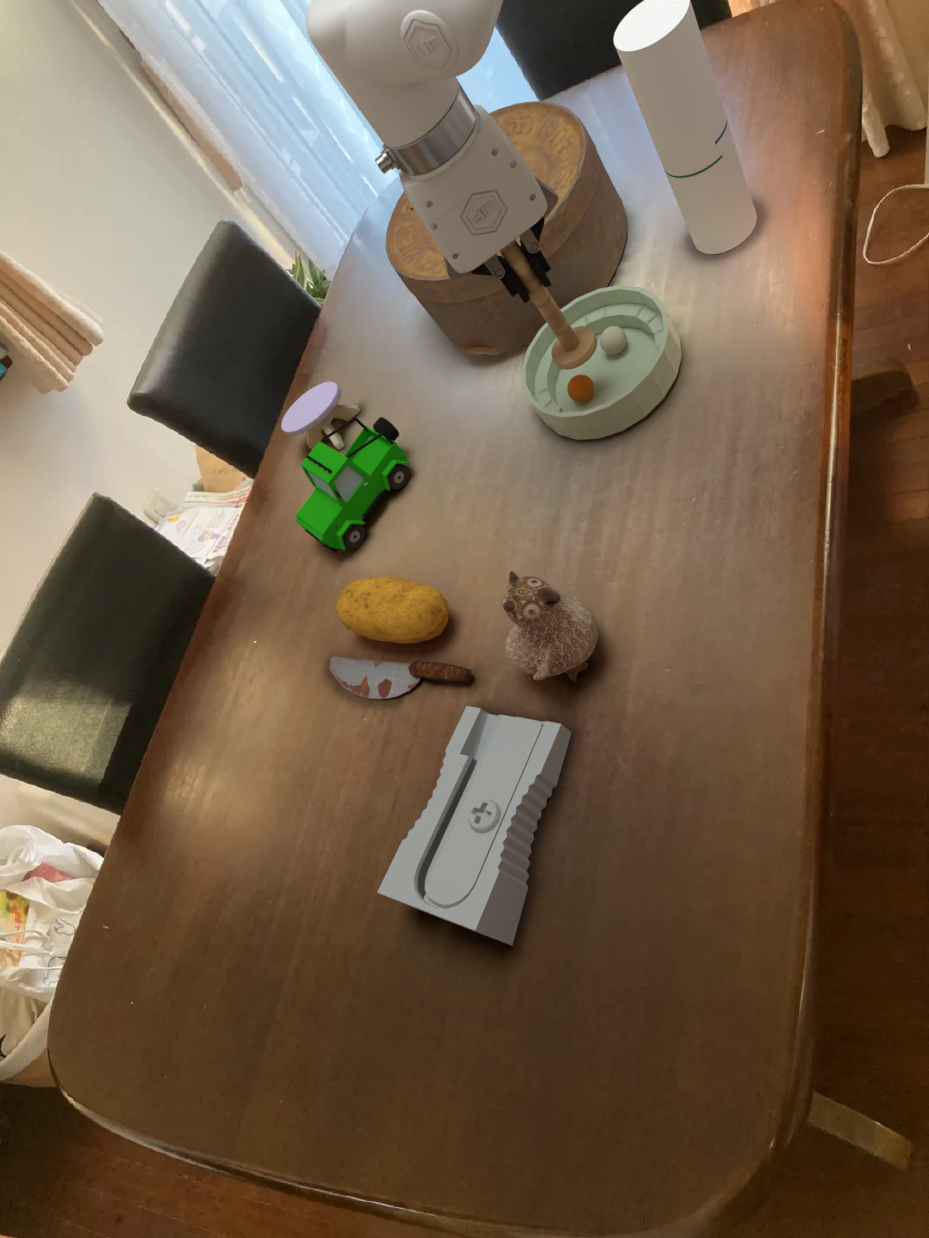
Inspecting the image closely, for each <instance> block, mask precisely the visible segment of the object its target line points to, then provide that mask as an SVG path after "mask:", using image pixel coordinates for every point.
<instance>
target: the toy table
mask: <svg viewBox="0 0 929 1238" xmlns="http://www.w3.org/2000/svg"><path fill="white" fill-rule="evenodd" d="M341 396H342V389H341V387H340V386H339V385H338V383H336V382H334V381H325V382H321V383H319V384H317V385H315V386H313V387H311V388H309V389H308V390H307V391H305V392H304V393H303V394H302V395H300V397H298V398H297V400H295V402H293V403H292V404H291V405H290V407H289V408H288V409H287V410H286V412H285V414H284V415H283V417H282V420H281V424H280V425H281V427H280V428H281V430H282V431H283V432H284V433H285V434H287V435H288V436H291V437H294V436H295V437H296V436H299V435H302V434H304V433H307V434H306V444H307V446H308V448H309V449H311V450H312V449H313V448H314V447H315V446H316V444H317V443H318V442H319V441H321V440H322V438H324V437H325V435H324V434H323V432H324V433H325V434H326V436H327V435H328V434H330V433H331V432H333V431H334V430H336V429H335V427H334V426H333V425H332V424H331V423H332V421H333V420H334V419H341V420H343V421H345V422H348V421H350V420H351V419H353V418H355V417H356V415H358V414H359V413H360V412H361V410H360V408H359V406H358V405H357V404H354V403H346V404H338V403H339V401H340V399H341ZM322 430H323V432H322ZM328 439H329V440H330V442H331V443H332V444H333V445H334V447H335V448H336V450H339V451H340V450H342V449H343V448H344V447H345V444H344V441H343V439H342V436H341V435H340V434H339V433H338V432H337V433H335V434H334V435H332V436H331V437H329V438H328Z"/></svg>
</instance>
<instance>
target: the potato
mask: <svg viewBox="0 0 929 1238" xmlns="http://www.w3.org/2000/svg"><path fill="white" fill-rule="evenodd" d="M335 612H336V614H337V615H338V617H339V619H340V621H341V623H342V624H343V626H345V627H346V629H348V630H349V631H352V632H354V633H356V634H358V635H360V636H362V637H365V638H367V639H370V640H372V641H373V640H374V641H380V642H387V643H395V644H405V645H406V644H415V643H421V642H425V641H429V640H432V639H434V638H436V637H439V636H441V635H442V633H443V632H444V630H445V627H446V626H447V625H448V622H449V615H450V609H449V603H448V600H447V598H446V597H445V596H444V595H443V594H442V592H441V591H440V590H438V589H437V588H436V587H434V586H431V585H429V584H425V583H421V582H417V581H412V580H409V579H406V578H403V577H398V576H391V575H390V576H389V575H382V576H381V575H380V576H374V577H363V578H361V579H356V580H354V581H352V582H350V583H349V584H348V585H346V586H345V588H343V589H342V590H341V591H340V594H339V596H338V599H337V602H336V604H335Z"/></svg>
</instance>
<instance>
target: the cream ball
mask: <svg viewBox="0 0 929 1238" xmlns="http://www.w3.org/2000/svg"><path fill="white" fill-rule="evenodd" d="M626 342H627V337H626V334H625V332H624V330H623V329H621V328H620V327H617V326H611V327H608V328H606V329H605V330H604V331H603V332H602V334H601V336H600V346H601V348H602V349H603V350H604V351H605V352H606V353H609V354H616V353H619V352H620V351H622V350H623V349H624V347H625V345H626Z"/></svg>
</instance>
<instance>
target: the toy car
mask: <svg viewBox="0 0 929 1238" xmlns="http://www.w3.org/2000/svg"><path fill="white" fill-rule="evenodd" d="M353 422H357V424H359V425H360V426H361V427H362V428H363V429H362V430H361V431H360V432H359V433H358V436H356V438H355V440H354V441H353V442H352V444H351V445H350V446H349V448H348V449H346V452H345V453H344V454H342V453H341V452H338V451H337V450H335V449H334V448H332V447H330V446H329V445H328V444H325V443H324V442H325V441H326V440H327V439H330V438H329V437H331V436H332V435H334V434H335V433H338V432H340V431H342V430H343V429H344V428H346V427H348V426H349V425H350V424H352V423H353ZM399 437H400V432H399V430H398V429H397V427H396V426H394V424H393V423H392V422H390V421H389V420H388V419H387V418H385V417H383V416H379V417H378V419H377V420H376V421H375V422H373V424H372V428H371V427H369V426H367V425H365V424H364V423H363V422H362V421H361V420H360V419H358V418H357V416H354V417H353V418H351V419H350V420H349V421H346V422H345V423H344V424H342V425H340V426H339V427H338V428H336V429H335V430H334V431H333V432H331V433H330V434H328V435H327V434H326V435H324V438H322V440H321V441H319V442H318V443H317V444H316V446H315V447H314V448H313V449H311V451H310V452H309V453H308V454H307V455H306V456H305V458H304V460H303V461H302V462H301V463H300V467H301V468H302V470H303V472H304V474H305V476H306V477H307V478H308V480H309V482H310V484H311V485H312V486H313V488H314V490H313V492H312V493H311V494H310V496H309V497H308V498H307V499H306V501H305V502H304V503H303V504H302V506H301V507H300V509H299V510H298V511H297V513H295V517H296V518H295V522H296V523H297V524H298V525H299V526H300V527H301V528H302V529H303V530H304V532H305V533H307V534H309V535H310V536H311V537H312V538H313V539H315V540H316V541H317V542H319V543H320V544H322V545H323V546H324V547H326V548H327V549H328V550H329V551H331V552H333V553H334V554H336V553H338V551H339V550H342V551H344V552H345V551H346V548H347V549H355V548H358V547H359V546H361V545H362V544H363V542H364V541H365V538H366V528H365V527H364V525H365V524H366V522H365V521H363V520H364V519H366V518H367V517H368V516H369V515H370V513H371V512H372V510H373V509H374V508H375V507H376V505H377V504H378V503H379V501H380V500H381V498H382V497H383V496H384V494H385V492H384V491H385V490H387V491H389V492H390V491H391V489H393V490H400V489H402V488H404V486H406V485H407V483H408V481H409V479H410V470H409V468H408V466H409V465H410V464H411V463H410V462H409V461H407V460H408V459H409V458H408V456H407V455H406V454H405V452H404V451H403V449H402V448H401V447H400V446H399V445H398V444H397V442H396V440H397V439H398V438H399Z"/></svg>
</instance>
